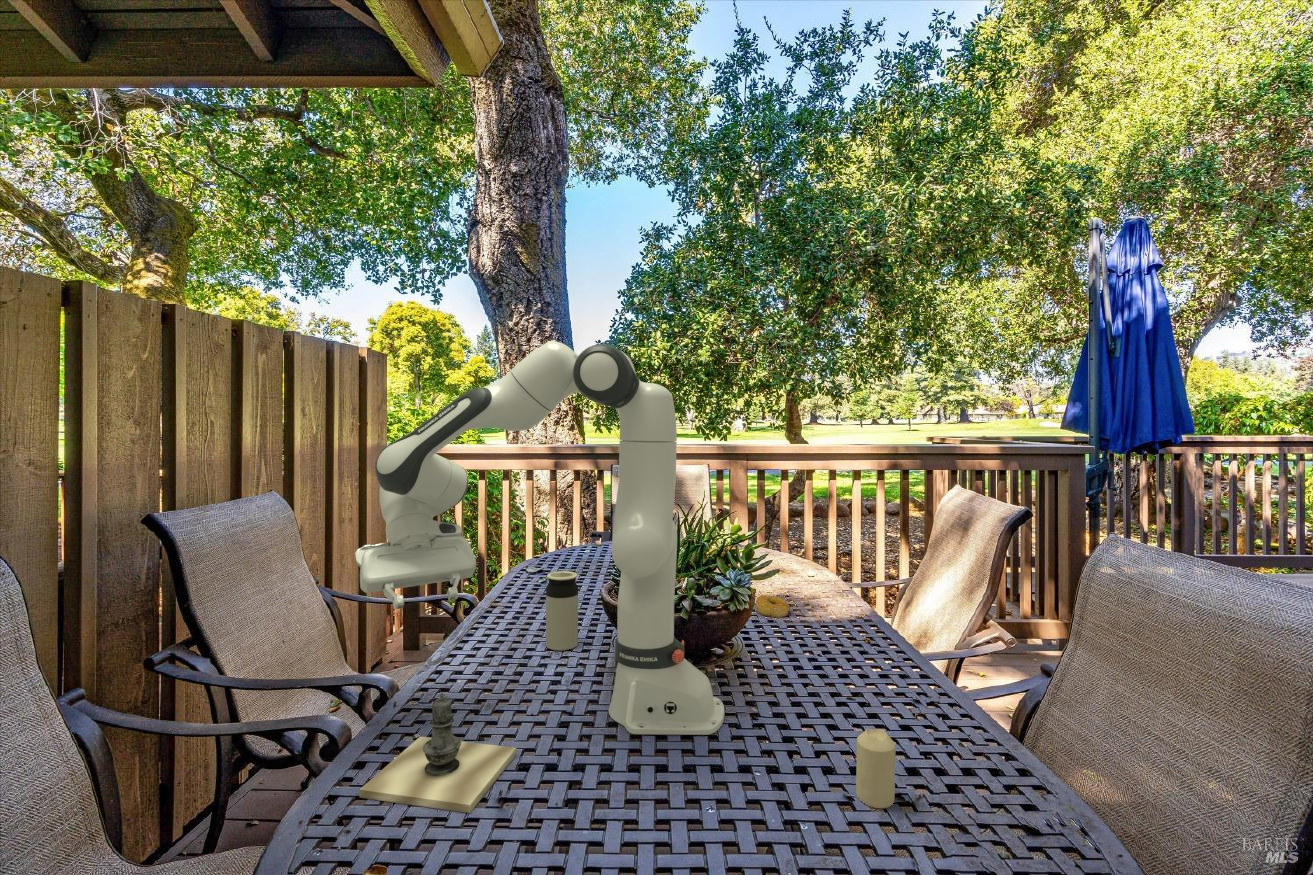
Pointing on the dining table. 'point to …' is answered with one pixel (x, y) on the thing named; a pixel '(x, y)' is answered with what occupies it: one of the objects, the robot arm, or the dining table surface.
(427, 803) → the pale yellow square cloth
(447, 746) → the weathered chess pawn
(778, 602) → the bagel
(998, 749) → the dining table surface
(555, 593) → the travel mug
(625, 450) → the robot arm
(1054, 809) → the dining table surface
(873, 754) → the candle
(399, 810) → the dining table surface
